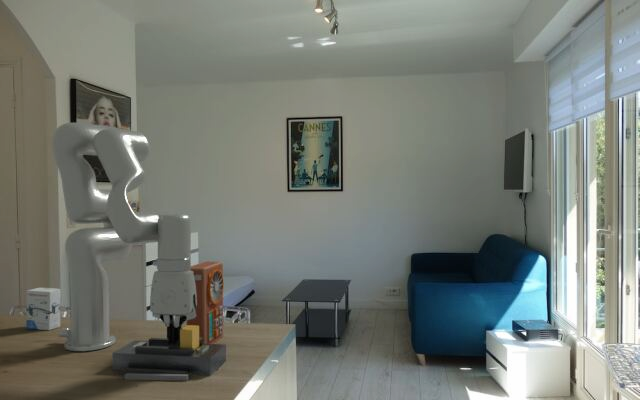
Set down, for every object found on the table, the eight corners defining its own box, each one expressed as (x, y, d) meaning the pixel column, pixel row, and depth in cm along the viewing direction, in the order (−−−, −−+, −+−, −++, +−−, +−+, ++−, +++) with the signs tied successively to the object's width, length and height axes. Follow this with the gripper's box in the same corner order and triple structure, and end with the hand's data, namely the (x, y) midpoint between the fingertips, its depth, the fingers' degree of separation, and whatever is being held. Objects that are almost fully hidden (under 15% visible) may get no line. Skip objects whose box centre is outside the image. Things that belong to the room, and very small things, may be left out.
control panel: (227, 335, 146) (205, 351, 132) (205, 333, 148) (180, 349, 133) (227, 261, 146) (205, 268, 131) (204, 260, 147) (180, 268, 133)
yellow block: (180, 350, 118) (180, 329, 118) (187, 345, 122) (187, 325, 122) (192, 351, 118) (192, 330, 118) (199, 346, 122) (199, 325, 122)
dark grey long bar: (118, 374, 115) (118, 369, 115) (121, 372, 116) (121, 367, 116) (184, 378, 112) (184, 373, 112) (187, 376, 114) (187, 371, 114)
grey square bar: (124, 379, 112) (124, 375, 112) (126, 377, 113) (126, 373, 113) (187, 380, 111) (186, 376, 111) (188, 378, 112) (188, 374, 112)
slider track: (112, 369, 118) (112, 347, 118) (135, 356, 128) (134, 335, 128) (210, 375, 114) (210, 352, 114) (226, 360, 124) (225, 339, 124)
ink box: (25, 329, 154) (24, 290, 154) (38, 324, 159) (37, 287, 159) (49, 330, 152) (49, 291, 152) (61, 326, 157) (61, 288, 157)
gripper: (136, 266, 118) (137, 345, 118) (197, 269, 115) (197, 349, 116) (152, 262, 125) (152, 336, 126) (210, 264, 123) (210, 339, 123)
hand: (174, 342), depth 121 cm, fingers closed
